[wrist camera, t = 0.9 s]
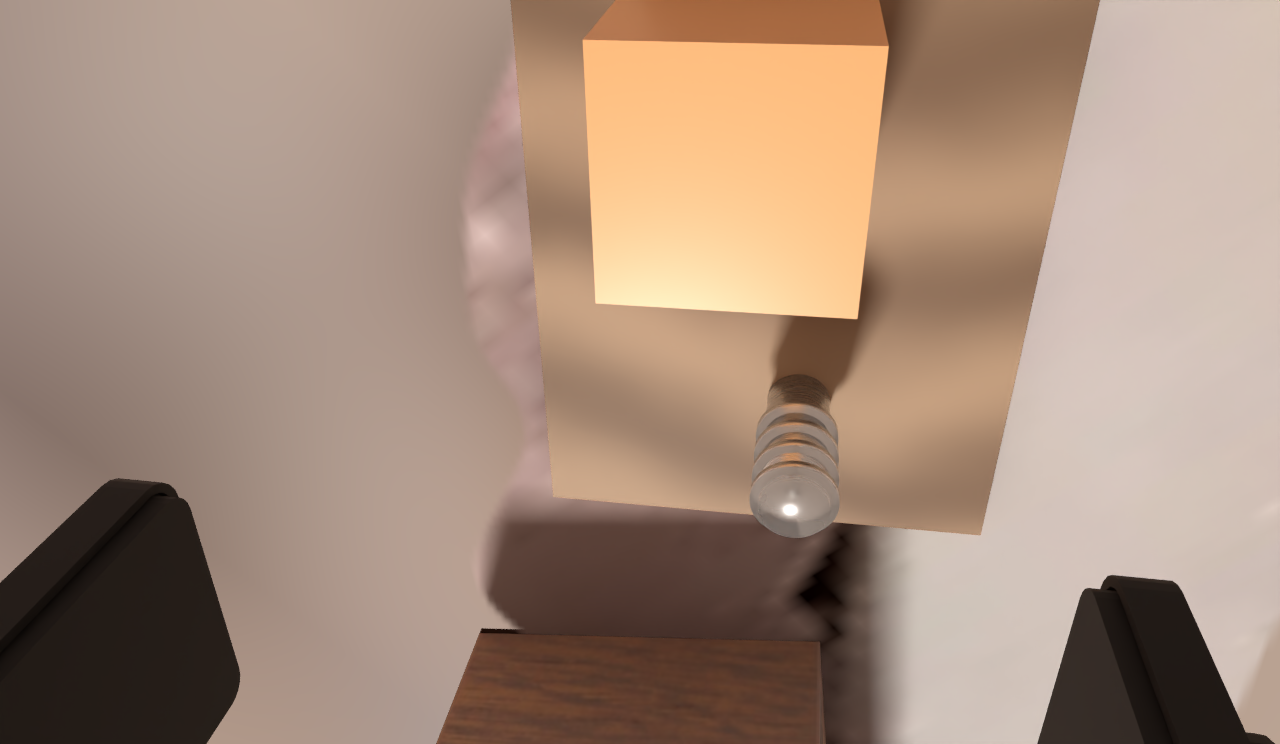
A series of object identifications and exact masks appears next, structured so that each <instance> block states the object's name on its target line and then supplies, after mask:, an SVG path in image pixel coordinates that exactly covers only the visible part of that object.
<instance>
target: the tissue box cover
mask: <svg viewBox="0 0 1280 744" xmlns="http://www.w3.org/2000/svg"><path fill="white" fill-rule="evenodd" d="M436 744H826V737H825V719H824V702H823V684H822V667H821V649H820V642H813V641H773V640H734V639H695V638H655V637H616V636H577V635H537V634H520V632H519V631H518V630H517V629H488V628H487V629H486V628H482V629H481V631H480V633H479V636H478V638H477V641H476V644H475V646H474V649H473V652H472V654H471V656H470V659H469V662H468V664H467V667H466V669H465V672H464V674H463V677H462V679H461V682H460V685H459V687H458V690H457V692H456V695H455V697H454V700H453V703H452V705H451V707H450V710H449V712H448V715H447V718H446V720H445V723H444V725H443V728H442V731H441V733H440V735H439V738H438V741H437V743H436Z"/></svg>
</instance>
